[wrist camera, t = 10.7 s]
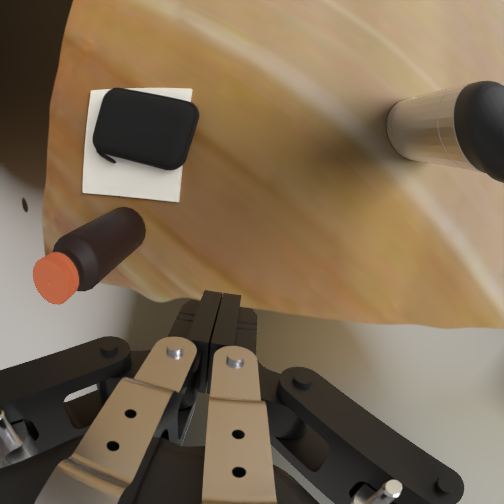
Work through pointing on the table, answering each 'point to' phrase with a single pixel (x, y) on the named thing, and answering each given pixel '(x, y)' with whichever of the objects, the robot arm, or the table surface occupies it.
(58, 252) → the bottle
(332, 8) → the table surface
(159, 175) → the cream paper sheet
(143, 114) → the carrying case or bag
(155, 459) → the robot arm
